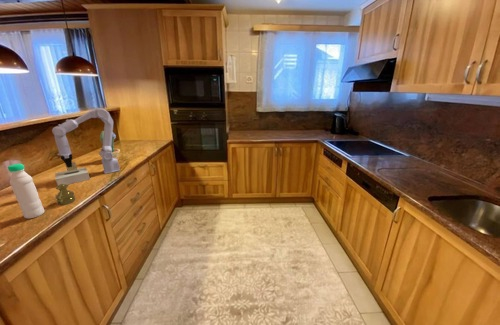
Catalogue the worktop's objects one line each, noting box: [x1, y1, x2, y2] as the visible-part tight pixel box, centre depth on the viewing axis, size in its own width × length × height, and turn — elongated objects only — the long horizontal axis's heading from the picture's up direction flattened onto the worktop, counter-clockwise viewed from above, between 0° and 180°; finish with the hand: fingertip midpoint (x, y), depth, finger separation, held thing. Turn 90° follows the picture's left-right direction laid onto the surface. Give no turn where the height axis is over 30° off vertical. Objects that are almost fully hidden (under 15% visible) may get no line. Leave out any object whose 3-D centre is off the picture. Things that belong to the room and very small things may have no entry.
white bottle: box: [7, 163, 45, 220], centre depth 97 cm, size 7×7×25 cm
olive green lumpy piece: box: [55, 184, 76, 206], centre depth 111 cm, size 7×7×10 cm
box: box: [54, 166, 91, 186], centre depth 140 cm, size 16×14×5 cm
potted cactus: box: [98, 130, 121, 160], centre depth 175 cm, size 15×15×25 cm
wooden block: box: [65, 161, 78, 172], centre depth 138 cm, size 5×2×5 cm, turn 131°
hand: (69, 166), depth 137 cm, fingers closed on wooden block, 2 cm apart
